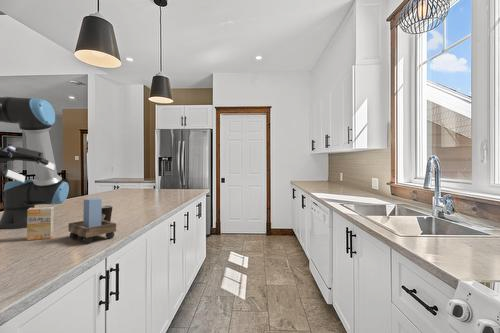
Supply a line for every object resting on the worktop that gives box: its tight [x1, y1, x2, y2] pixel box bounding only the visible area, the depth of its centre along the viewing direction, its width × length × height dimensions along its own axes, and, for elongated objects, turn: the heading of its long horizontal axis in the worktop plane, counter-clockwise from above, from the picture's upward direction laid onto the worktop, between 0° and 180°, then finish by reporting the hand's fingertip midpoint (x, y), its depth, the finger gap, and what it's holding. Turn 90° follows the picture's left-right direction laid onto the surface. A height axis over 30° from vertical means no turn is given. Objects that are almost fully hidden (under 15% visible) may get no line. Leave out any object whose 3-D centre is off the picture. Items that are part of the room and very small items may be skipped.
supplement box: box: [26, 206, 55, 241], centre depth 109 cm, size 8×5×13 cm, turn 117°
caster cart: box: [67, 220, 117, 245], centre depth 110 cm, size 16×12×6 cm
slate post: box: [82, 197, 103, 228], centre depth 110 cm, size 5×5×12 cm
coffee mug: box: [101, 204, 113, 222], centre depth 132 cm, size 12×9×10 cm
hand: (38, 173), depth 101 cm, fingers open, 13 cm apart
